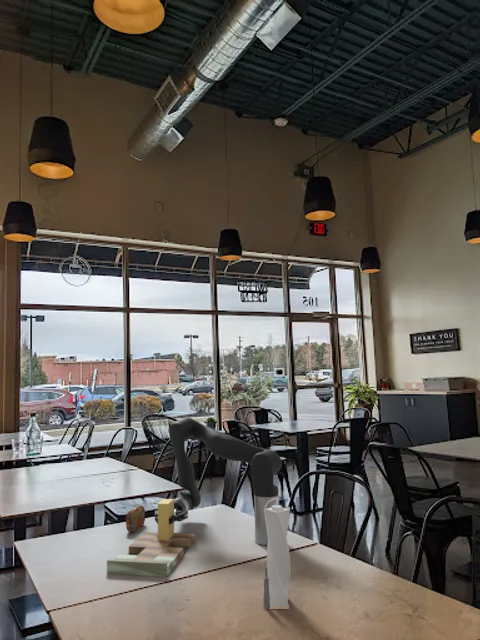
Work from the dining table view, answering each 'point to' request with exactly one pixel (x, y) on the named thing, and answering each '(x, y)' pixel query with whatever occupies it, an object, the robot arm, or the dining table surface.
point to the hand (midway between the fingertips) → (163, 521)
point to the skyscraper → (277, 557)
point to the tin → (135, 518)
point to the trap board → (151, 555)
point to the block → (165, 519)
